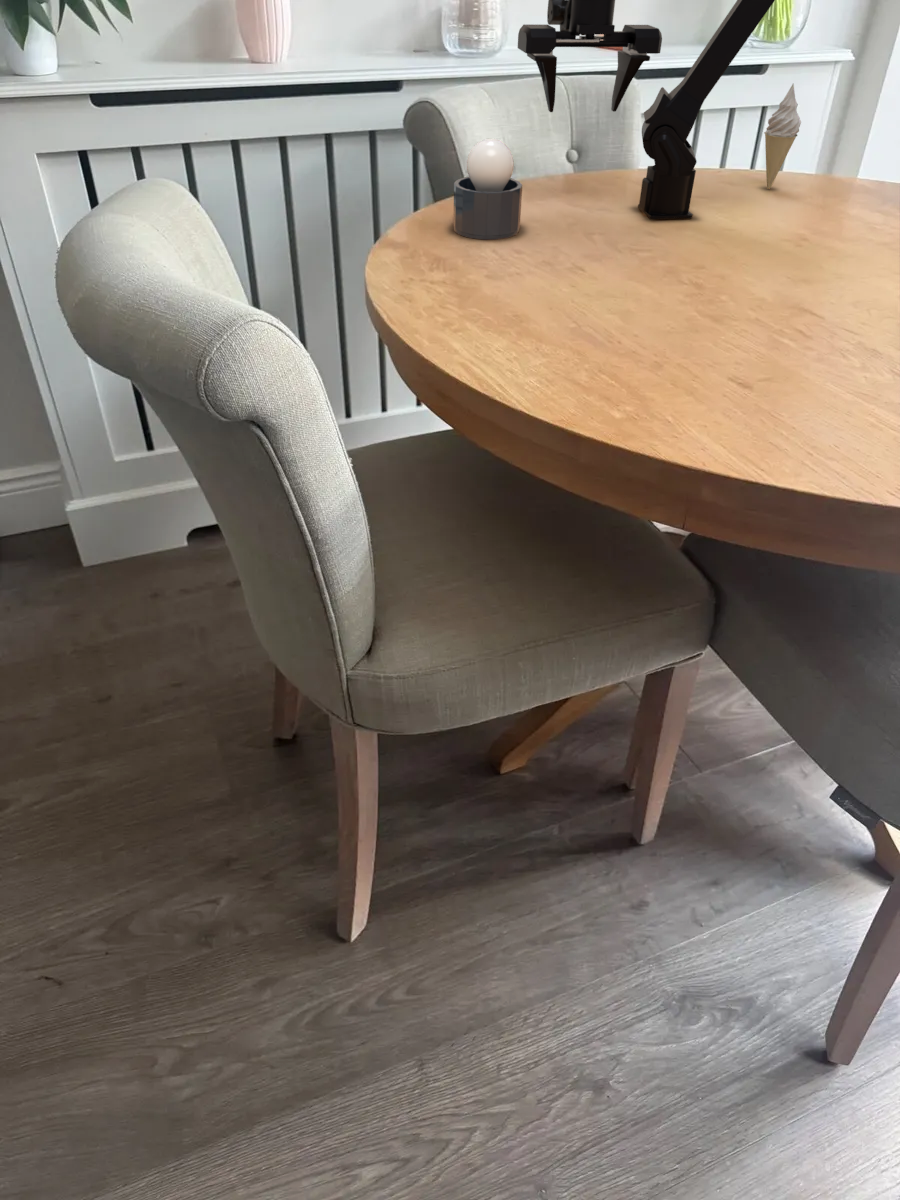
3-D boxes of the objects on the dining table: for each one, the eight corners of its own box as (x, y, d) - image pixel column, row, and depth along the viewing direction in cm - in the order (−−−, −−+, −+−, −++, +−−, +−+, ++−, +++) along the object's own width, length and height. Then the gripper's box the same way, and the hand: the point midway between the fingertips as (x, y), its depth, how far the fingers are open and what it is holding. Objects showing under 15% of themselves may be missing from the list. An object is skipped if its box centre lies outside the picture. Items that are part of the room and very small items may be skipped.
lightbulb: (478, 234, 119) (481, 145, 112) (457, 222, 123) (459, 136, 116) (518, 229, 121) (523, 141, 114) (497, 217, 126) (500, 132, 119)
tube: (511, 219, 127) (514, 174, 123) (525, 238, 120) (528, 191, 116) (449, 221, 125) (449, 176, 122) (459, 240, 118) (460, 193, 115)
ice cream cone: (788, 193, 140) (814, 86, 130) (756, 192, 140) (780, 85, 130) (779, 185, 144) (804, 80, 134) (749, 184, 144) (771, 80, 134)
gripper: (644, -28, 121) (627, 100, 131) (512, -30, 118) (506, 101, 128) (672, -22, 112) (652, 115, 122) (531, -23, 110) (522, 116, 120)
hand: (582, 111), depth 123 cm, fingers open, 9 cm apart
